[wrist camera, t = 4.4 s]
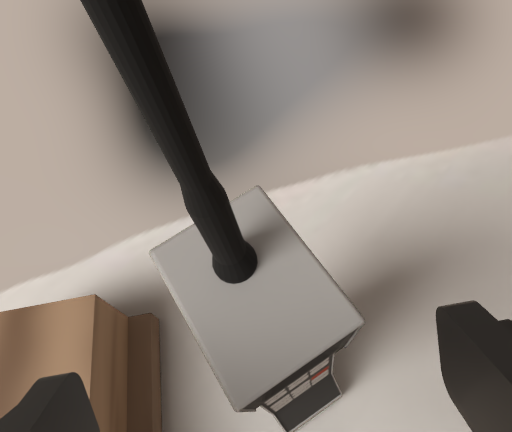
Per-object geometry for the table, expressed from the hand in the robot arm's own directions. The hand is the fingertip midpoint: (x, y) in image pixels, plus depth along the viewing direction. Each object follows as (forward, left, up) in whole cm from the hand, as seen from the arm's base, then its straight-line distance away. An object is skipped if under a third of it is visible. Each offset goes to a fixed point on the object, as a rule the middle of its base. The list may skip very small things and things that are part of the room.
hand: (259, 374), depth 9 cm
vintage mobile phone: (0, -2, -17) cm, 17 cm away
